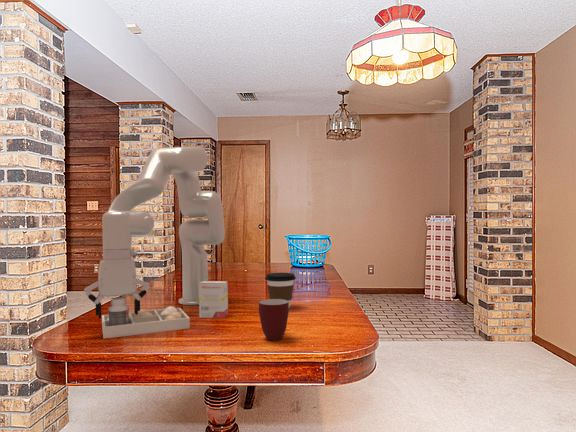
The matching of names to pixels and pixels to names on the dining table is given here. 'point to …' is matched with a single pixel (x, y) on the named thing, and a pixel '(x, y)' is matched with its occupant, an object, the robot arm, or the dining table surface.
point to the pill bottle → (118, 312)
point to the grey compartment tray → (145, 324)
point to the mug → (273, 317)
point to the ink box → (213, 299)
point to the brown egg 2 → (173, 315)
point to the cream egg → (168, 310)
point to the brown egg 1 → (143, 313)
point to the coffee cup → (280, 285)
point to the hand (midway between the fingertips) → (118, 315)
